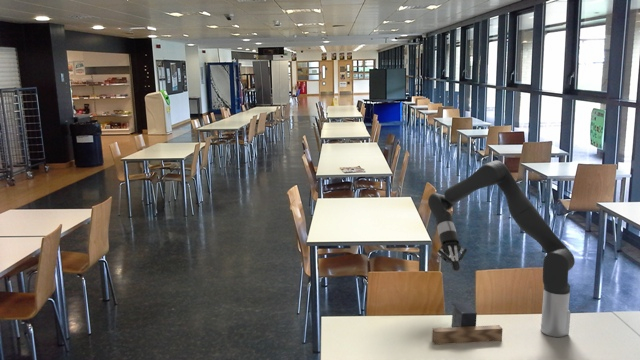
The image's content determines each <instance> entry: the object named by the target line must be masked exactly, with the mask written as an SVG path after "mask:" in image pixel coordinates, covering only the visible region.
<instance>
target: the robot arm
mask: <svg viewBox="0 0 640 360" xmlns="http://www.w3.org/2000/svg"><path fill="white" fill-rule="evenodd" d="M495 185H497V186H498V188H500V190H501V191H502V193H503V194H504V196H505V199H506V202H507V207H508V212H509V214H510V216H511V217H512V219H513V221H515V223H516V224H517V226H518V227H519V228H520V229H521V231H522V232H524V234H526V235H528V236H529V237H530V238H532V239H533V240H535V242H537V243H538V244H539V245H540V246H541V248H542V249H543V251H544V252H545V253H546V255H545V256H544V259H543V261H542V262H543V263H542V283H543V292H542V293H543V294H542V295H543V296H542V309H541V322H540V331H541V333H543V334H544V335H547V336H548V337H552V338H553V337H554V338H562V337H565V336H568V335H569V334H570V323H571V310H569V309H570V307H569V305H570V294H571V293H570V291H571V285H570V283H569V282H568V281H569V271H570V270H572V269H573V268H574V266H575V263H576V261H575V257H574V254H573V253H572V251H571V250H570V249H569V248H568V247H567V246H566V244H564V243H563V242H562V241H561V239H559V237H558V236H557V235H556V233H554V231H553V230H552V228H551V227H550V226H549V224H548V223H547V222H546V220H545V219H544V218H543V217H542V215H541V213H540V212H539V211H538V210H537V208H536V207H535V206H534V204H533V203H532V202H531V201H530V199H529V198H528V197H527V195H526V194H525V192H523V190H522V189H521V187H520V186H519V185H518V182H517V181H516V179H515V178H514V177H513V174H512V173H511V172H510V170H509V168H508V167H507V165H506V164H505V163H503V162H502V161H500V160H496V159H495V160H492V161H489V162H486V163H484V164H482V165H481V166H480V167H479V168H478V169H476V171H475V172H473V173H472V174H471V175H469V176H468V177H467V178H465V179H462V180H461V181H459V182H457V183H455V184H454V185H452V186H450V187H448V188H447V189H445V191H444V194H440V193H437V192H433V193H432V194H430V195H429V196H428V199H427V200H428V207H429V210H430V212H431V213H432V215H433V217H434V218H435V223H436V226H437V233H438V234H437V235H438V237H439V242H440V246H441V247H440V249H438V251H437V255H438V256H439V258H441V259H442V260H443V261H444V262H445V263H446V264H447V263H450V265H451V269H452V271H453V272H459V270H460V268H461V267H460V263H461V262H462V260H463V258H464V256H465V254H466V253H467V251H468V249H467V248H463V247H462V245H461V244H460V241H459V240H460V239H459V237H458V234H457V230H456V226H455V224H454V221H453V216H452V214H451V212H450V210H451V209H452V208H453V207H454V206H455V205H456V204H457V203H458V202H460V201H463V199H465V198H467V197H469V196H470V195H471V194H473V193H474V192H475V191H477V190H480V189H484V188H487V187H491V186H495ZM459 253H460V256H459Z"/></svg>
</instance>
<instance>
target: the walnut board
mask: <svg viewBox="0 0 640 360" xmlns="http://www.w3.org/2000/svg"><path fill="white" fill-rule="evenodd" d="M431 334H432V336H431V340H432V342H433V344H434V345H449V344H467V343H468V344H469V343H470V344H471V343H487V342H502V341H503V327H502V326H501V325H499V324H493V325H476V326H469V327H452V326H450V327H432V333H431Z"/></svg>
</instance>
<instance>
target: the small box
mask: <svg viewBox="0 0 640 360" xmlns="http://www.w3.org/2000/svg"><path fill="white" fill-rule="evenodd" d="M477 313H478V312H476V311H475V309H474V308H473V307H472V306H471V305H470V304H469V302H465V301H464V302H452V313H451V314H452V315H451V316H452V317H451V327H469V326H477Z"/></svg>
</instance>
